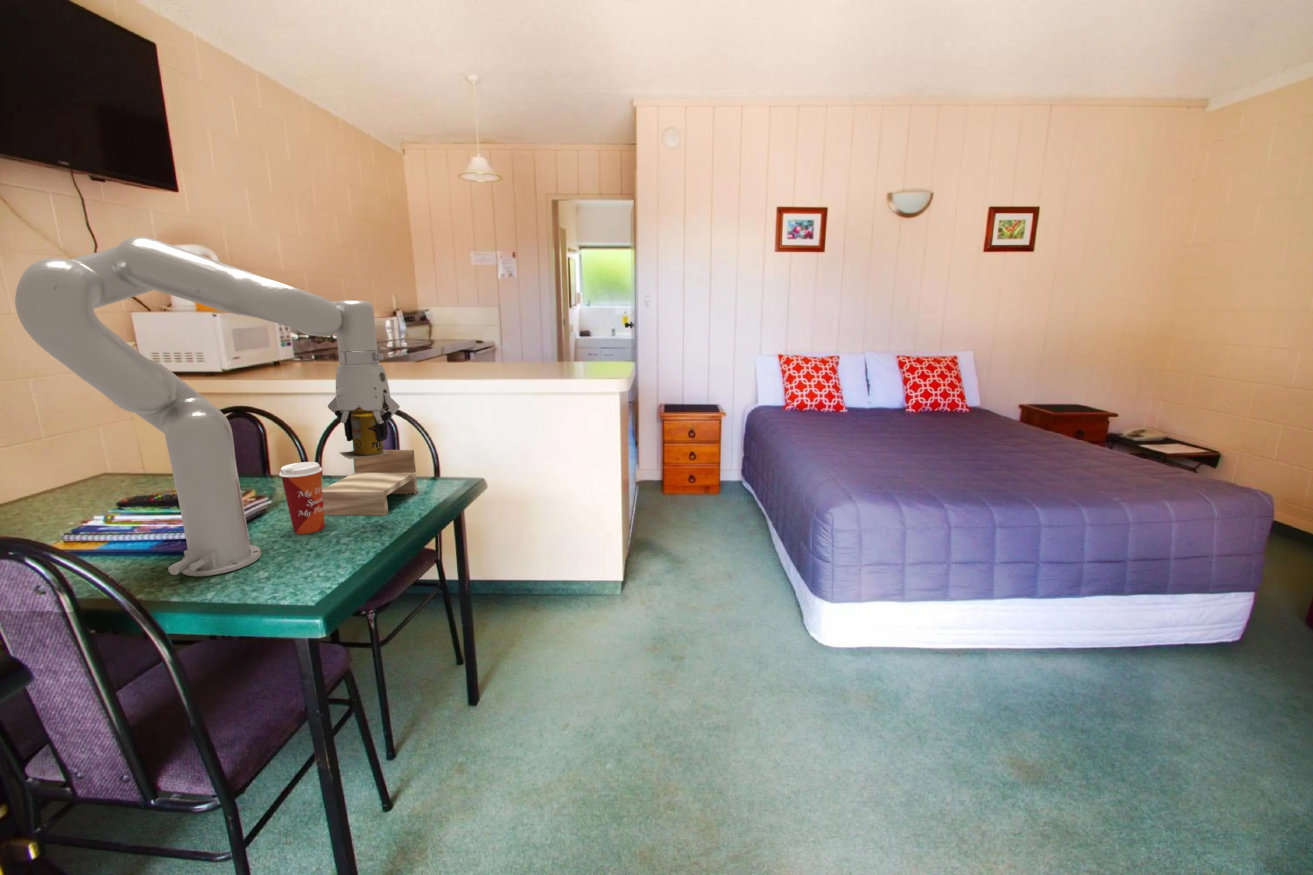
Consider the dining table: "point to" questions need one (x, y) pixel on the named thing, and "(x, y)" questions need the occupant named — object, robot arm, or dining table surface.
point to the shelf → (372, 484)
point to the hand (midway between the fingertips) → (367, 439)
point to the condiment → (364, 435)
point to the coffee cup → (304, 496)
